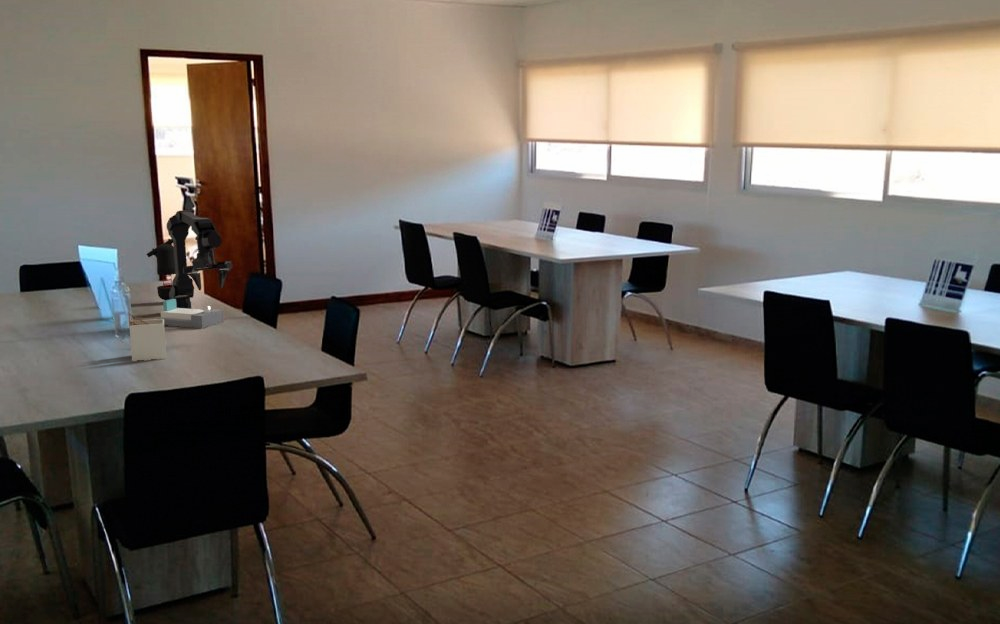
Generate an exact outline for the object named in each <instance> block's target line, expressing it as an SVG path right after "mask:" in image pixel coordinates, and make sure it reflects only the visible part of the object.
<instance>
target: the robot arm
mask: <svg viewBox="0 0 1000 624" xmlns="http://www.w3.org/2000/svg"><path fill="white" fill-rule="evenodd" d="M190 227H191V229H190ZM166 229H167V234H168V236H169V237H170V239H172V240H173V243H172V246H173V247H174V258H175V271H176V274H174V277H173V278H172V287H171V290H170V292H169V296H170V299H176V306H177V308H186V309H192V301H191V299H192V298H194V295H195V286H196V287H197V289H198V291H202V278H201V273H200V272H199V271H207V270H216V269H217V270H216V272H217V275H218V282H219V288H220V289H222V288H223V286H224V283H225V280H226V278H227V275H228V273H229V271H231V269H233V268H234V266H233V265H234V264H233V263H232V261H231V260H229V261H218V262H216V261H215V255H216V252H215V251H214V249H217V248H219V247H221V245H222V243H223V238H222V237H221V235H219V234H218V229H217V228H216V226H215V224H214V223H213V221H212V219H211V218H208V217H199V216H198V215H196V214H194V213H192V212H191V210H188V209H184V210H178V211H176V212H175V214H174V215H173V216H171V217H169V218H168V221H167V222H166ZM189 229H190V230H191V231H192V232H193V233H194V234H195V235H196V236H195V237H194V238H195V241H196V246H197V253H196V258H194V259H193V260H192V261H191V264H192V265H188V263H187V248H186V239H187V237H188V236H189ZM193 282H194V283H193ZM194 284H195V286H194Z"/></svg>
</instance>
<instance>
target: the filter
mask: <svg viewBox="0 0 1000 624" xmlns="http://www.w3.org/2000/svg"><path fill="white" fill-rule="evenodd" d="M146 256H147V257H148V258H150V257H153V256H155V258H156V265H157V266H156V272H157V273H156V274H157V275H159V276H162V277H166V278H165V279H164V278H163V279H162V285H159V286H157V288H156V290H157V295H158V297H159V298H160V299H161V300H163V301H166V300H170V296H169V292H170V290H171V287H172V281H173V278H168V277H172V275H176V271H175V258H174V246H173V240H172V238H168V239H167V241H165V242H163V243H161V244H159V245H158V246H157V247H155V248H152V249H151V250H150V251H149V252H147V253H146ZM169 281H170V282H169ZM165 282H166V283H165Z"/></svg>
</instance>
